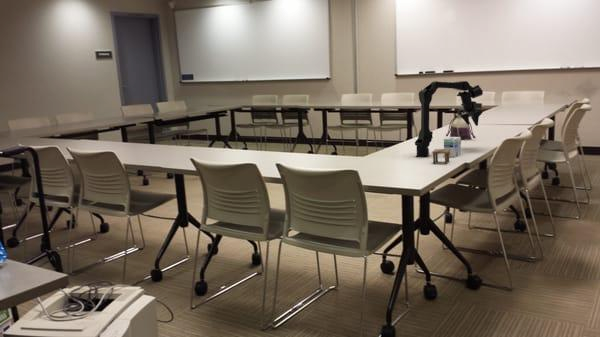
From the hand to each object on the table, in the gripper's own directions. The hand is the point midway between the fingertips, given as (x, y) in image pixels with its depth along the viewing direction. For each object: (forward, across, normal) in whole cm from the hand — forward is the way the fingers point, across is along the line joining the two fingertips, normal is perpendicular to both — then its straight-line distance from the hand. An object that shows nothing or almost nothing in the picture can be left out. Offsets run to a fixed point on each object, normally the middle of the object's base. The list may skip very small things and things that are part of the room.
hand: (472, 125), depth 323 cm
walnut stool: (+6, -25, +39) cm, 46 cm away
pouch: (+20, +44, -13) cm, 50 cm away
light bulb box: (+10, -10, +23) cm, 27 cm away
